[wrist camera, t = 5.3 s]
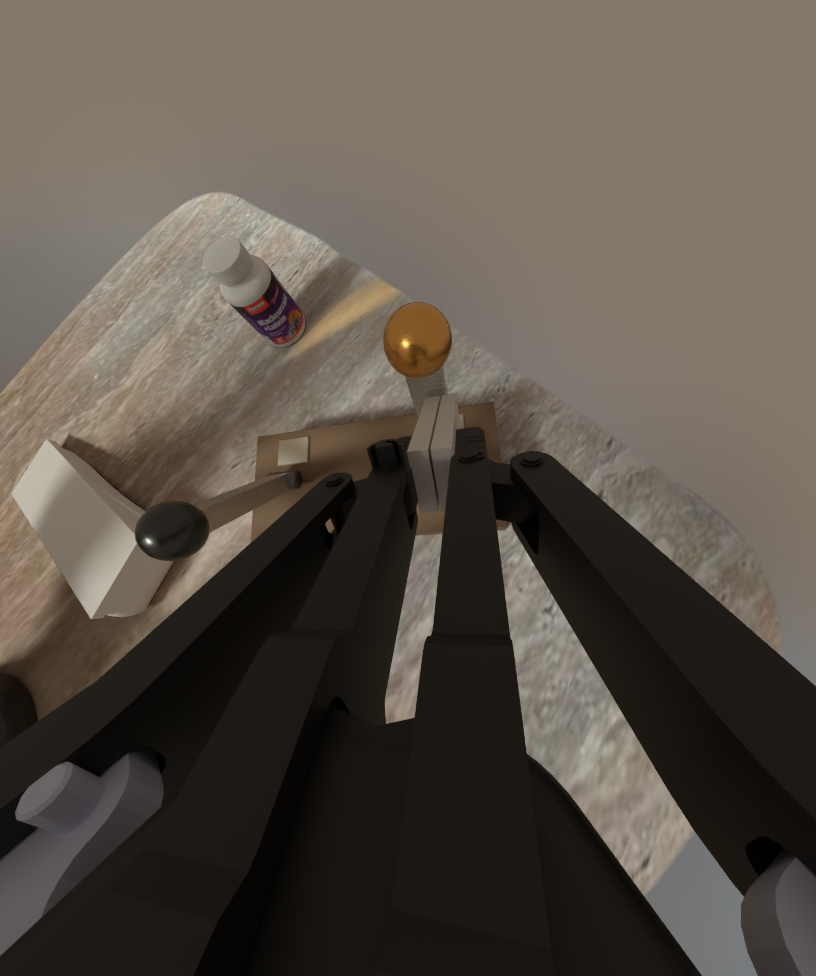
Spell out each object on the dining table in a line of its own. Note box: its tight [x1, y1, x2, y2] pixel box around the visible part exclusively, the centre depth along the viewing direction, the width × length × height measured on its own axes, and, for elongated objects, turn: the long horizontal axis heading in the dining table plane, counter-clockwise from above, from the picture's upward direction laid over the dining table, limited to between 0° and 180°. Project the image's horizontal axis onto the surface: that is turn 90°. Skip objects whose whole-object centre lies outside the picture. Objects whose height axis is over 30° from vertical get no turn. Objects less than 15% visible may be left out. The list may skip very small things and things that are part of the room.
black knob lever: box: [135, 470, 302, 561], centre depth 21 cm, size 3×3×13 cm
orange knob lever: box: [383, 302, 452, 419], centre depth 19 cm, size 3×3×13 cm
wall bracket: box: [12, 439, 174, 619], centre depth 37 cm, size 10×7×28 cm
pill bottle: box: [203, 236, 306, 347], centre depth 32 cm, size 5×5×10 cm
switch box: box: [251, 402, 508, 542], centre depth 28 cm, size 10×22×4 cm, turn 92°
